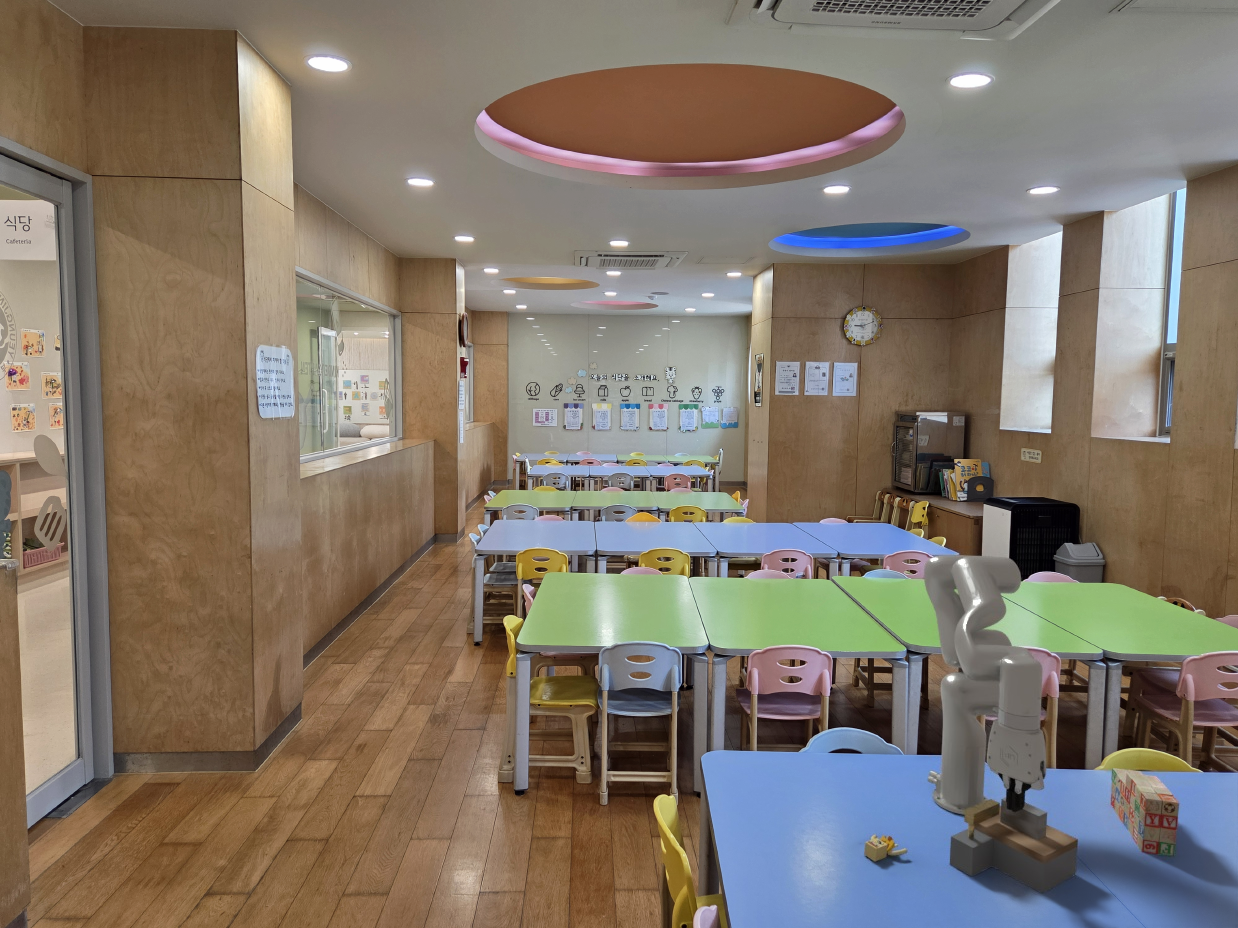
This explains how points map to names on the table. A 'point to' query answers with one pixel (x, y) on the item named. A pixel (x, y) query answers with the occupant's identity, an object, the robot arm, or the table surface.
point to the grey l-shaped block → (1009, 861)
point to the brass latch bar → (980, 814)
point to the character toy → (881, 848)
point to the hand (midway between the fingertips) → (1014, 808)
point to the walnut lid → (1028, 832)
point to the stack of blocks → (1146, 810)
